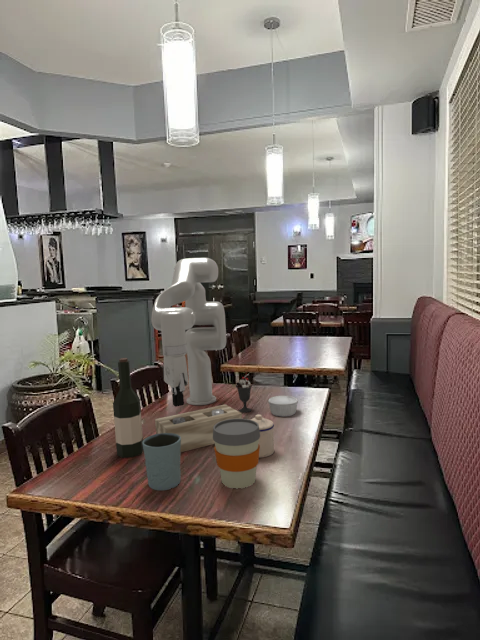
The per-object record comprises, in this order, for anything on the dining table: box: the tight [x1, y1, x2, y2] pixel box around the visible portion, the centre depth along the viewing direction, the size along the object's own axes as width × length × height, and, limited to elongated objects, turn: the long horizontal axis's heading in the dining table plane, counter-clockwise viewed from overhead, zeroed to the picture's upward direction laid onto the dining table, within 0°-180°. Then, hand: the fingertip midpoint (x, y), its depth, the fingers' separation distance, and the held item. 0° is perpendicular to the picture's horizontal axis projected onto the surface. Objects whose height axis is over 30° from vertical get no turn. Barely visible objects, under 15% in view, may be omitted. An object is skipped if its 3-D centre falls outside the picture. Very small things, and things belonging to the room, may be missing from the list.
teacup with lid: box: [250, 413, 275, 458], centre depth 136 cm, size 12×9×12 cm
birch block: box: [154, 404, 243, 453], centre depth 148 cm, size 12×26×8 cm, turn 119°
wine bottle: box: [112, 357, 144, 459], centre depth 139 cm, size 8×8×30 cm
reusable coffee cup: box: [213, 418, 260, 490], centre depth 118 cm, size 13×13×15 cm
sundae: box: [235, 372, 253, 414], centre depth 175 cm, size 7×7×15 cm
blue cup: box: [142, 433, 182, 491], centre depth 119 cm, size 10×10×12 cm
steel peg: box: [212, 409, 224, 416], centre depth 151 cm, size 4×4×8 cm
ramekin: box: [267, 395, 299, 417], centre depth 172 cm, size 11×11×5 cm
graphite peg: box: [173, 417, 185, 424], centre depth 145 cm, size 4×4×8 cm
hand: (178, 405), depth 145 cm, fingers closed
